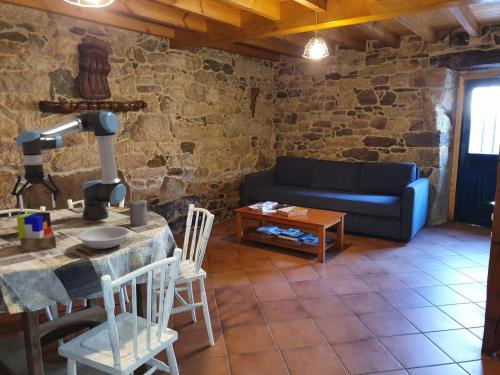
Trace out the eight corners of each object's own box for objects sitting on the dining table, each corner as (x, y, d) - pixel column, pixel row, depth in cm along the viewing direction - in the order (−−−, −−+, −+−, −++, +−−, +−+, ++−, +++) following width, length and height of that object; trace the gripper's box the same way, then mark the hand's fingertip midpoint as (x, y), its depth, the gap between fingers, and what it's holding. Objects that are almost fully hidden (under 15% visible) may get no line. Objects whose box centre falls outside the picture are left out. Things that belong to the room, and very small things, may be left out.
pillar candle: (130, 222, 228) (128, 198, 225) (147, 221, 231) (146, 197, 228) (130, 227, 219) (129, 201, 216) (148, 225, 222) (147, 200, 219)
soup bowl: (140, 240, 195) (139, 228, 193) (113, 257, 172) (112, 242, 170) (97, 237, 200) (97, 224, 199) (66, 252, 177) (65, 238, 176)
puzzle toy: (40, 238, 179) (38, 217, 177) (18, 238, 179) (16, 217, 177) (51, 232, 189) (49, 212, 187) (31, 232, 189) (29, 212, 187)
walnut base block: (52, 240, 195) (51, 229, 194) (56, 248, 183) (55, 236, 182) (20, 245, 187) (19, 233, 186) (22, 253, 176) (21, 241, 175)
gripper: (0, 166, 172) (6, 212, 176) (62, 163, 180) (66, 207, 184) (4, 164, 179) (9, 208, 183) (63, 162, 187) (67, 204, 191)
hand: (38, 208), depth 184 cm, fingers open, 13 cm apart
